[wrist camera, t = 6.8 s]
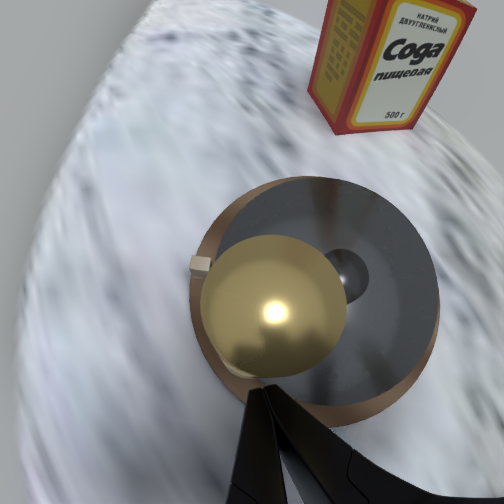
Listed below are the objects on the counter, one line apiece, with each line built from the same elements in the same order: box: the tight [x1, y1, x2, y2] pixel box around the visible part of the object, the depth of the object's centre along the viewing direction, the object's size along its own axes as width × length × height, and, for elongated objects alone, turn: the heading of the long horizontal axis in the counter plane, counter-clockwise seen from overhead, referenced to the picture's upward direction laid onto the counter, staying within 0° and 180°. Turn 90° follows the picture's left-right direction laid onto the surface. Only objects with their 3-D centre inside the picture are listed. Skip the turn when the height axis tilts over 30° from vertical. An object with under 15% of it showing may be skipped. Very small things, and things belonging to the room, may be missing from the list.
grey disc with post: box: [200, 177, 439, 406], centre depth 13 cm, size 15×14×12 cm
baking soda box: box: [307, 0, 477, 135], centre depth 21 cm, size 10×6×16 cm
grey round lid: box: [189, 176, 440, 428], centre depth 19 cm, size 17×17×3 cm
